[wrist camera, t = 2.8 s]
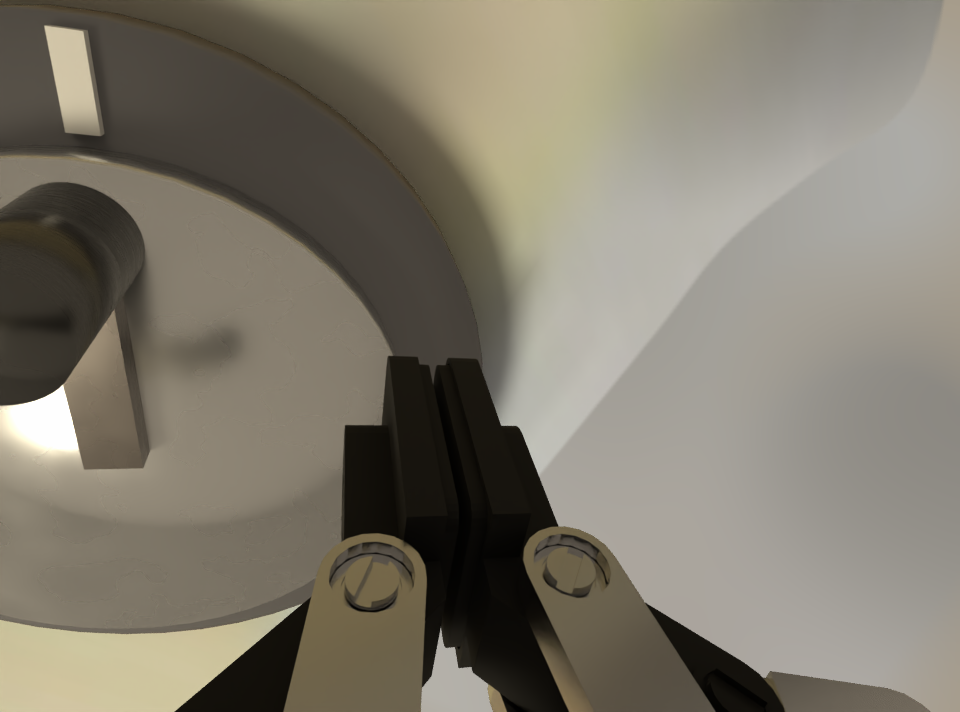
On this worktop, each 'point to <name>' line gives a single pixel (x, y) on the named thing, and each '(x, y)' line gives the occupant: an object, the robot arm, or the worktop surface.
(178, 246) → the dial
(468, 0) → the worktop surface
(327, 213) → the dial base
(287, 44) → the worktop surface
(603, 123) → the worktop surface
